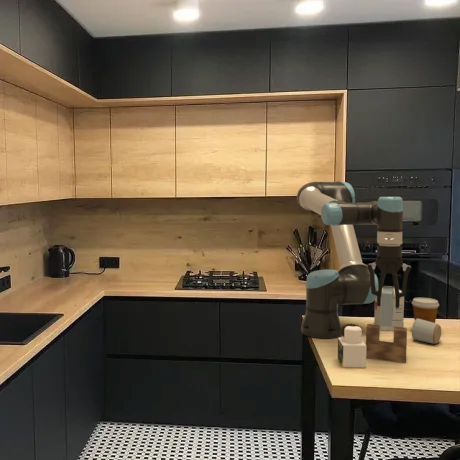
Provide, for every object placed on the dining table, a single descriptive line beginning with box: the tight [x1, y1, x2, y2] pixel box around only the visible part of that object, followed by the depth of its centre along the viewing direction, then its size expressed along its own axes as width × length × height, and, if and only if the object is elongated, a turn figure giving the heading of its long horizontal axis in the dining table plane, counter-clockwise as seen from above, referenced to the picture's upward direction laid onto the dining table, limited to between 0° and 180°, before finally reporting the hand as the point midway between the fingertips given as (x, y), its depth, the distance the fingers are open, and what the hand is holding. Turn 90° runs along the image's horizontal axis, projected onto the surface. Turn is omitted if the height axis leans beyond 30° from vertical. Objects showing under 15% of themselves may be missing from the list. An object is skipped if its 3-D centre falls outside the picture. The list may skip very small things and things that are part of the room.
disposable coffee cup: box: [411, 297, 440, 323], centre depth 170 cm, size 10×10×12 cm
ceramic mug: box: [411, 319, 442, 345], centre depth 159 cm, size 11×8×8 cm
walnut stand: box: [365, 323, 408, 364], centre depth 142 cm, size 12×4×10 cm, turn 68°
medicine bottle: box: [337, 323, 367, 369], centre depth 138 cm, size 7×7×12 cm
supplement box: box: [373, 288, 405, 332], centre depth 175 cm, size 9×9×15 cm
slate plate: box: [381, 285, 394, 327], centre depth 141 cm, size 3×12×10 cm, turn 158°
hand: (387, 316), depth 145 cm, fingers closed on slate plate, 3 cm apart
